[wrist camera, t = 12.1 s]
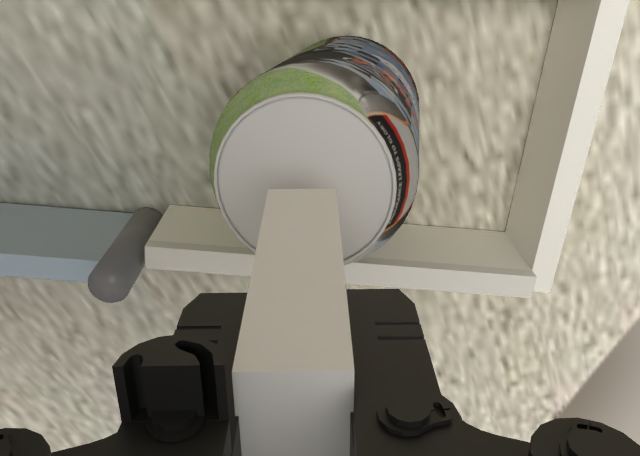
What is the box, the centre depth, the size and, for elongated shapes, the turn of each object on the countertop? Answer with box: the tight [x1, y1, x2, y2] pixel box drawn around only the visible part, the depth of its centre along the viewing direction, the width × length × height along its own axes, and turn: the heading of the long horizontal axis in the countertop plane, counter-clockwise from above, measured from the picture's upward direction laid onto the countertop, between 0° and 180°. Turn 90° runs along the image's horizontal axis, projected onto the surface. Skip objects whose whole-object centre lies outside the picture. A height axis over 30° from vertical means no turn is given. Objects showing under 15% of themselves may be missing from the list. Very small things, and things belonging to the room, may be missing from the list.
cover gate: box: [0, 203, 162, 303], centre depth 26 cm, size 12×2×6 cm, turn 85°
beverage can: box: [210, 36, 419, 265], centre depth 21 cm, size 6×7×12 cm
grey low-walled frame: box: [145, 0, 630, 298], centre depth 25 cm, size 17×13×5 cm
